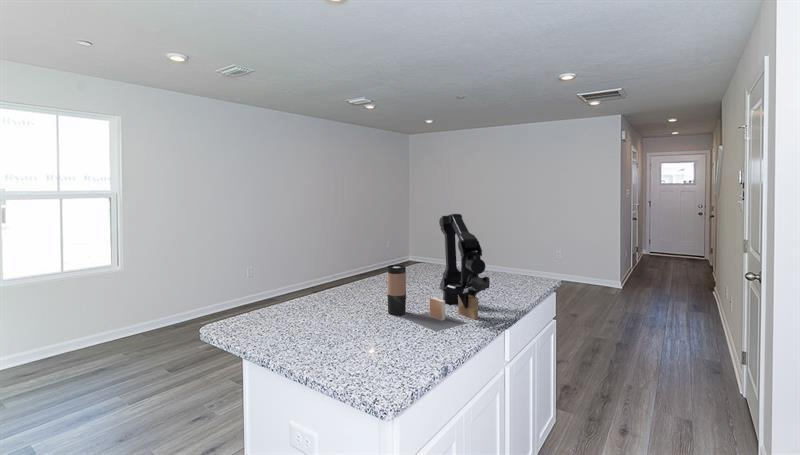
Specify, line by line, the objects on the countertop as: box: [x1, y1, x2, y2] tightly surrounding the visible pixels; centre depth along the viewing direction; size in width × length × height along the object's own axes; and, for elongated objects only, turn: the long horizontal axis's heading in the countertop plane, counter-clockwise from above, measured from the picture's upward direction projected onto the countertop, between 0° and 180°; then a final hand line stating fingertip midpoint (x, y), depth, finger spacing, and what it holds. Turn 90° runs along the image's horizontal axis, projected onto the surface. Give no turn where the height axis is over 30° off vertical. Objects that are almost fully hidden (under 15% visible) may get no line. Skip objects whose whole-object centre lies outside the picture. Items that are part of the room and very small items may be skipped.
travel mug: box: [386, 264, 407, 317], centre depth 174 cm, size 8×8×20 cm
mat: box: [403, 311, 468, 332], centre depth 165 cm, size 20×16×1 cm
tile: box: [429, 296, 446, 320], centre depth 168 cm, size 8×2×8 cm, turn 36°
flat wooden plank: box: [457, 295, 479, 321], centre depth 170 cm, size 9×2×9 cm, turn 36°
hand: (468, 307), depth 170 cm, fingers closed on flat wooden plank, 2 cm apart
